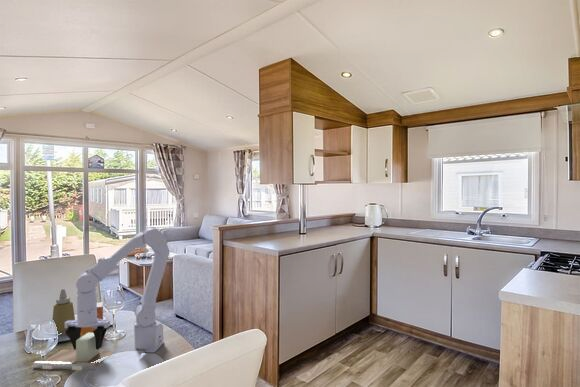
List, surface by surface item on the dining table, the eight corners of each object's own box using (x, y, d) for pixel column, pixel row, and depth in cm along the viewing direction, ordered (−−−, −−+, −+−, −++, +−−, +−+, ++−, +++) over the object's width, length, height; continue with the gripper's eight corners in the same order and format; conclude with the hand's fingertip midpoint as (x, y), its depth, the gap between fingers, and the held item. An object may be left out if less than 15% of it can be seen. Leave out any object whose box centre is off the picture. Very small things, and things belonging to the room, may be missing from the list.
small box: (79, 344, 125) (78, 310, 125) (80, 337, 131) (79, 305, 130) (103, 339, 129) (102, 306, 129) (103, 333, 134) (103, 301, 134)
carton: (99, 352, 116) (99, 332, 116) (87, 361, 110) (87, 340, 110) (88, 352, 116) (88, 332, 116) (76, 361, 110) (75, 340, 110)
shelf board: (115, 354, 117) (115, 346, 117) (91, 374, 104) (91, 365, 104) (62, 352, 119) (62, 345, 118) (32, 372, 106) (32, 363, 106)
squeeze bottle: (66, 337, 131) (65, 292, 131) (46, 337, 131) (45, 292, 131) (80, 328, 139) (79, 286, 139) (61, 329, 139) (60, 286, 139)
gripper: (114, 304, 117) (115, 342, 117) (74, 304, 117) (74, 342, 117) (103, 311, 110) (103, 352, 110) (59, 311, 110) (60, 352, 110)
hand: (87, 348), depth 113 cm, fingers open, 7 cm apart
